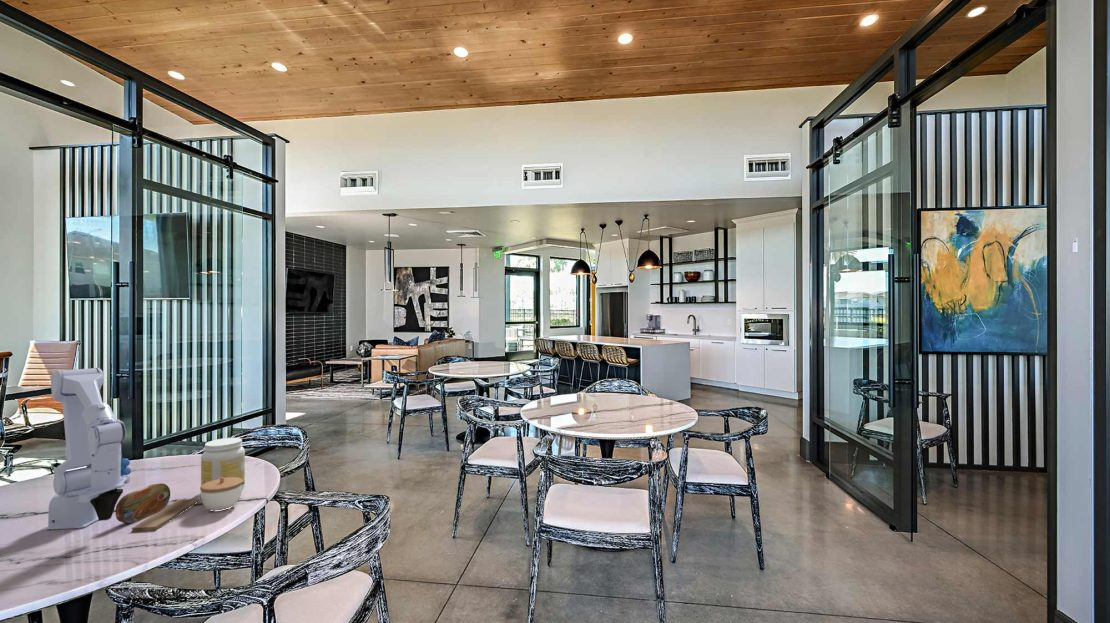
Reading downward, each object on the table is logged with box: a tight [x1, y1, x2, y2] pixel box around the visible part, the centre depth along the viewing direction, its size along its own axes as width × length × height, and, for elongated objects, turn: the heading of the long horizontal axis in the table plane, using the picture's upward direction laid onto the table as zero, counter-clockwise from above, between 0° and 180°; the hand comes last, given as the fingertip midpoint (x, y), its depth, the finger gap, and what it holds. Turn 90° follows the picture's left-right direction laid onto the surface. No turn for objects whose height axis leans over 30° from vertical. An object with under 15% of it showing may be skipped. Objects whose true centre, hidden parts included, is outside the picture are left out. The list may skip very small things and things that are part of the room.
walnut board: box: [131, 498, 200, 533], centre depth 139 cm, size 6×20×1 cm, turn 9°
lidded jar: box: [200, 477, 243, 511], centre depth 145 cm, size 11×11×9 cm
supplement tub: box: [200, 437, 246, 489], centre depth 159 cm, size 12×12×17 cm
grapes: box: [86, 453, 132, 477], centre depth 163 cm, size 12×7×12 cm, turn 126°
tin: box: [115, 482, 171, 524], centre depth 139 cm, size 15×3×8 cm, turn 175°
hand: (105, 519), depth 125 cm, fingers closed
